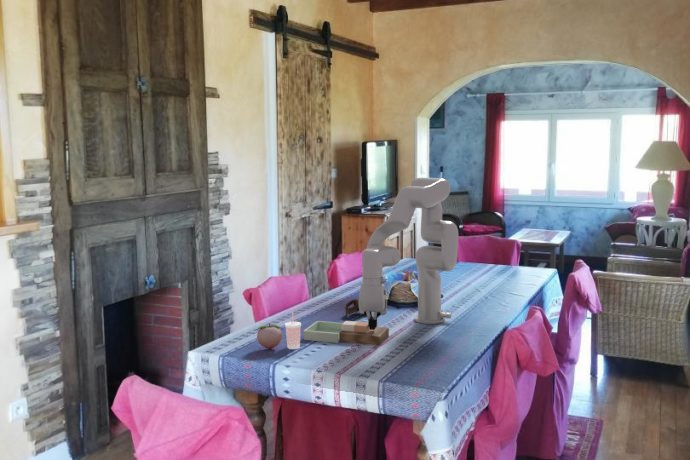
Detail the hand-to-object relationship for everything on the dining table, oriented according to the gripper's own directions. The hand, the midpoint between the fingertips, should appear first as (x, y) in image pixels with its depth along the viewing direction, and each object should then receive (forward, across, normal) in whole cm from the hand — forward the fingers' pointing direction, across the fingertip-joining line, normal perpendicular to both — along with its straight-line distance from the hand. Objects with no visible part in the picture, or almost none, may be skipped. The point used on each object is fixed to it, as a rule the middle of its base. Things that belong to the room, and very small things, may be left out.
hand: (372, 328), depth 258 cm
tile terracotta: (+1, +4, 0) cm, 4 cm away
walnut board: (+4, +4, 0) cm, 6 cm away
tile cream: (+1, +9, 0) cm, 9 cm away
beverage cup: (+5, +26, +17) cm, 31 cm away
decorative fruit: (+5, +33, +22) cm, 39 cm away
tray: (+4, +18, 0) cm, 19 cm away
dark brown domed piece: (+5, +17, -33) cm, 37 cm away
